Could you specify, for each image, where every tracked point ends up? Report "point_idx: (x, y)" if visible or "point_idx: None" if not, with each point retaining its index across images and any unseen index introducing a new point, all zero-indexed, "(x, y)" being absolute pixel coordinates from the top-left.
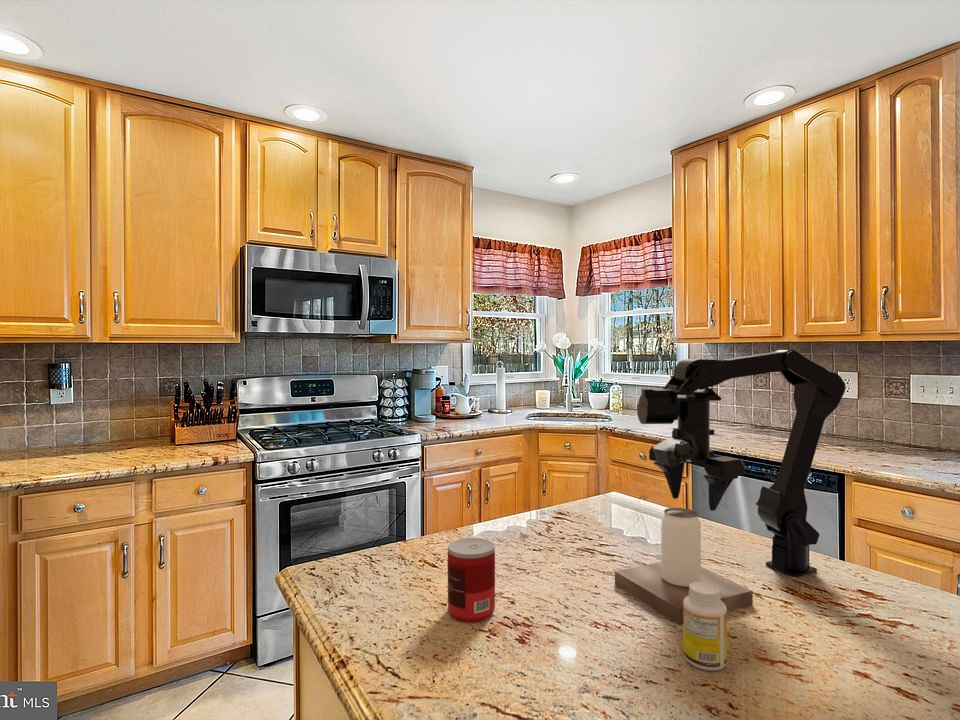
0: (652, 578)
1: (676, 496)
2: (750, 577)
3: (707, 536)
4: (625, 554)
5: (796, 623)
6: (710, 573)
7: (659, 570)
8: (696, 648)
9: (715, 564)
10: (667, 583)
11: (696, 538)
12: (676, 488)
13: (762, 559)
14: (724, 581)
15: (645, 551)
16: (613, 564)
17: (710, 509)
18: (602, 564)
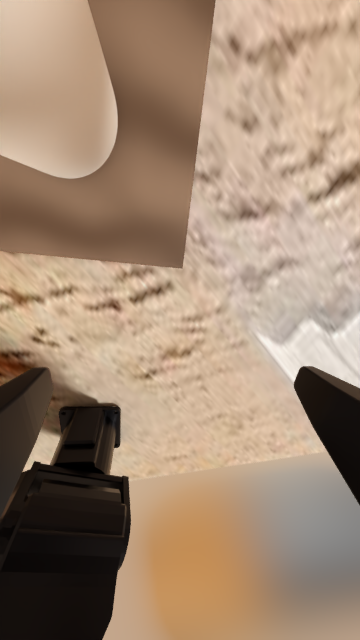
0: (106, 19)
1: (302, 384)
2: (91, 350)
3: (254, 420)
4: (312, 221)
5: None
6: (72, 244)
7: (147, 120)
8: None
9: (165, 344)
10: None
11: None
12: (336, 421)
13: (141, 419)
14: (14, 231)
15: (290, 277)
16: (300, 131)
17: (40, 368)
18: (321, 98)
